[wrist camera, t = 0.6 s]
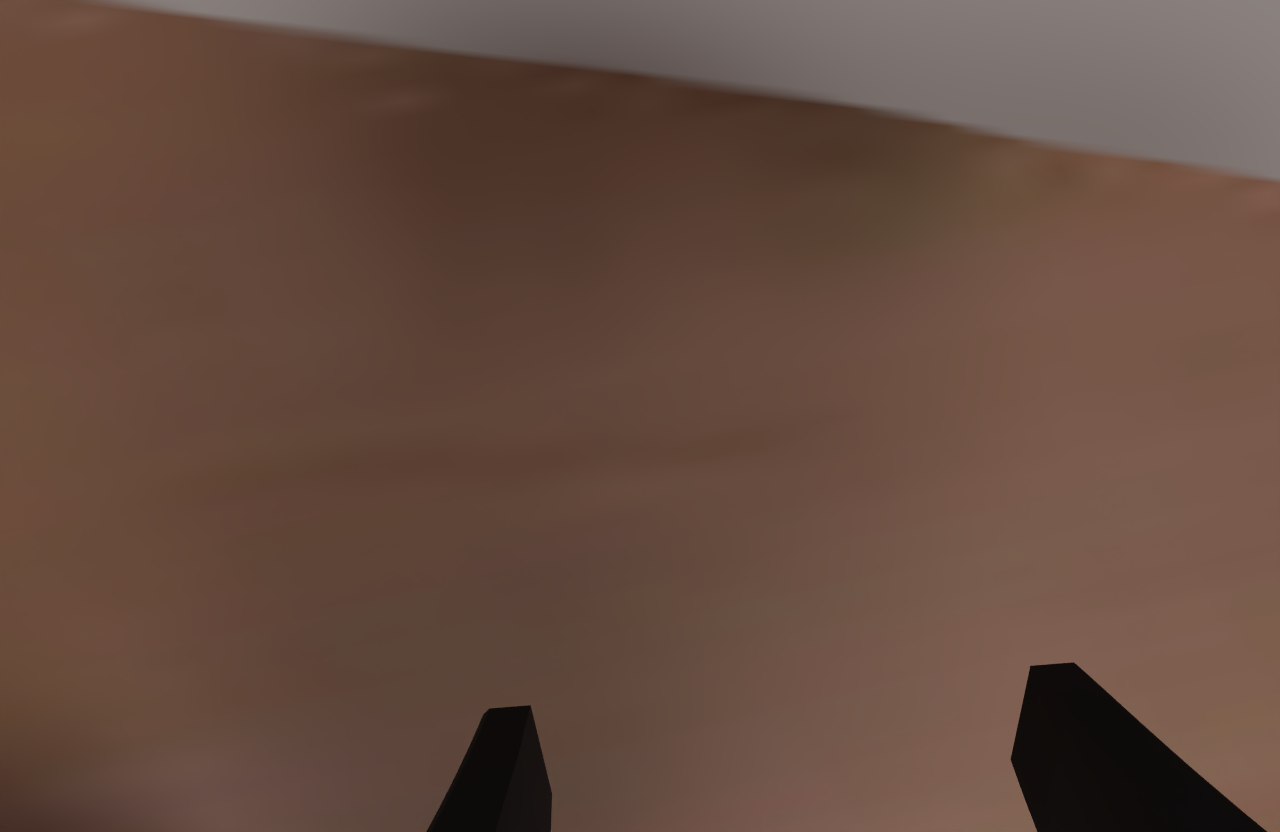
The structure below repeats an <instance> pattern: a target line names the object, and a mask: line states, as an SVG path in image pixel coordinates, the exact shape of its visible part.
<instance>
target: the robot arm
mask: <svg viewBox="0 0 1280 832" xmlns="http://www.w3.org/2000/svg"><path fill="white" fill-rule="evenodd" d="M1011 762H1012V765H1013V767H1014V770H1015V773H1016V776H1017V779H1018V781H1019V784H1020V787H1021V790H1022V792H1023V795H1024V798H1025V801H1026V803H1027V806H1028V808H1029V811H1030V814H1031V816H1032V819H1033V821H1034V824H1035V827H1036V829H1037V832H1267V831H1266V830H1264V829H1263V828H1262V827H1261V826H1259V825H1258V824H1257V823H1256V822H1255V821H1253V820H1252V819H1251V818H1250V817H1249V816H1247V815H1246V814H1245V813H1244V812H1242V811H1241V810H1240V809H1239V808H1238V807H1237V806H1235V805H1234V804H1233V803H1232V802H1231V801H1230V800H1228V799H1227V798H1226V797H1225V796H1224V795H1223V794H1221V793H1220V792H1219V791H1218V790H1217V789H1216V788H1214V787H1213V786H1212V785H1211V784H1210V783H1209V782H1207V781H1206V780H1205V779H1204V778H1203V777H1201V776H1200V775H1199V774H1198V773H1197V772H1196V771H1194V770H1193V769H1192V768H1191V767H1190V766H1189V765H1188V764H1186V763H1185V762H1184V761H1183V760H1182V759H1181V758H1180V757H1178V756H1177V755H1176V754H1175V753H1174V752H1173V751H1172V750H1171V749H1169V748H1168V747H1167V746H1166V745H1165V744H1164V743H1163V742H1162V741H1160V740H1159V739H1158V738H1157V737H1156V736H1155V735H1154V734H1153V733H1152V732H1150V731H1149V730H1148V729H1147V728H1146V727H1145V726H1144V725H1143V724H1142V723H1140V722H1139V721H1138V720H1137V719H1136V718H1135V717H1134V716H1133V715H1132V714H1131V713H1129V712H1128V711H1127V710H1126V709H1125V708H1124V707H1123V706H1122V705H1121V704H1120V703H1118V702H1117V701H1116V700H1115V699H1114V698H1113V697H1112V696H1111V695H1110V694H1109V693H1107V692H1106V691H1105V690H1104V689H1103V688H1102V687H1101V686H1100V685H1099V684H1098V683H1096V682H1095V681H1094V680H1093V679H1092V678H1091V677H1090V676H1089V675H1088V674H1086V673H1085V672H1084V671H1083V670H1082V669H1081V668H1080V667H1079V666H1077V665H1076V664H1075V663H1062V664H1049V665H1036V666H1030V671H1029V676H1028V680H1027V685H1026V690H1025V694H1024V699H1023V704H1022V709H1021V713H1020V718H1019V723H1018V727H1017V732H1016V737H1015V742H1014V746H1013V751H1012V756H1011ZM551 807H552V792H551V788H550V784H549V780H548V776H547V771H546V767H545V763H544V759H543V755H542V751H541V747H540V742H539V738H538V734H537V730H536V726H535V722H534V718H533V714H532V709H531V705H529V706H517V707H504V708H491V709H489V710H488V711H487V712H486V713H484V714H483V716H482V719H481V721H480V724H479V726H478V728H477V731H476V733H475V735H474V737H473V740H472V742H471V744H470V746H469V748H468V751H467V753H466V755H465V757H464V759H463V761H462V763H461V766H460V768H459V770H458V772H457V774H456V776H455V778H454V780H453V782H452V784H451V786H450V788H449V790H448V792H447V794H446V796H445V798H444V800H443V802H442V804H441V806H440V808H439V810H438V811H437V813H436V815H435V817H434V819H433V821H432V823H431V824H430V826H429V828H428V830H427V832H551Z"/></svg>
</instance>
